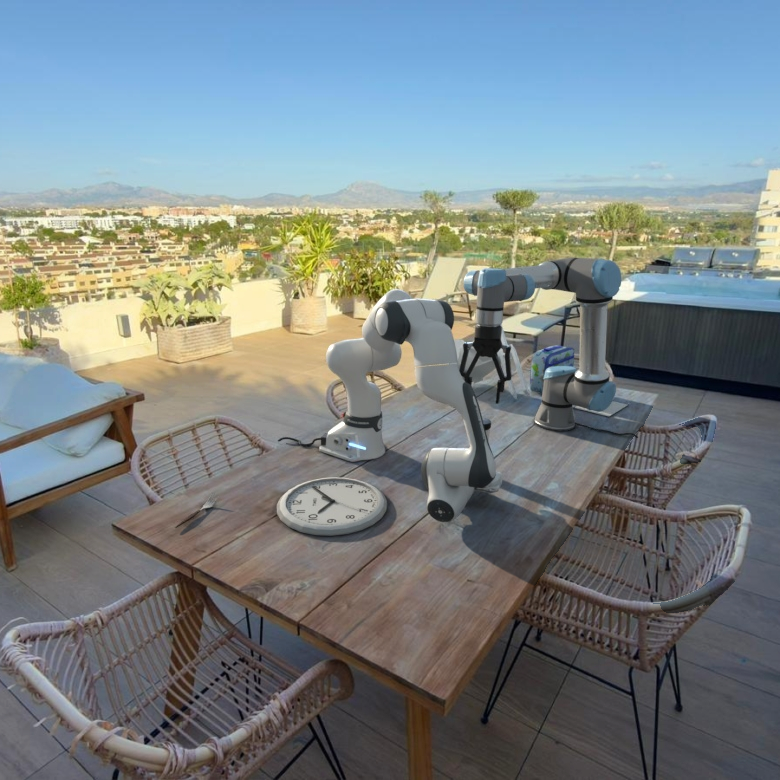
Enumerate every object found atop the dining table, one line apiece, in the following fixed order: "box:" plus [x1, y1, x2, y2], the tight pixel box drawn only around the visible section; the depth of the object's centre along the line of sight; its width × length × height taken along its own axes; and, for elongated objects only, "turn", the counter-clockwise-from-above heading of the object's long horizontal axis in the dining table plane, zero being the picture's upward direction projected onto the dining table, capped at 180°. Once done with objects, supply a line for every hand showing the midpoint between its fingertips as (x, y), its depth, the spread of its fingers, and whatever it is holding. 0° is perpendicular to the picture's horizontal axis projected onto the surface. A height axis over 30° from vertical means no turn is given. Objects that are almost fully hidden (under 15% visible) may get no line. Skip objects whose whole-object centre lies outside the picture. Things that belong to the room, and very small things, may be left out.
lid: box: [482, 417, 492, 431], centre depth 157 cm, size 6×6×2 cm
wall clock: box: [276, 476, 388, 537], centre depth 142 cm, size 30×2×30 cm
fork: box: [174, 492, 220, 529], centre depth 137 cm, size 3×16×2 cm, turn 160°
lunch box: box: [529, 345, 575, 394], centre depth 245 cm, size 26×11×21 cm, turn 134°
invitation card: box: [573, 400, 629, 418], centre depth 226 cm, size 21×1×15 cm
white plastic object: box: [450, 323, 531, 400], centre depth 245 cm, size 37×45×31 cm
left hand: (472, 464), depth 155 cm, fingers open, 8 cm apart
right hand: (483, 400), depth 155 cm, fingers open, 8 cm apart
